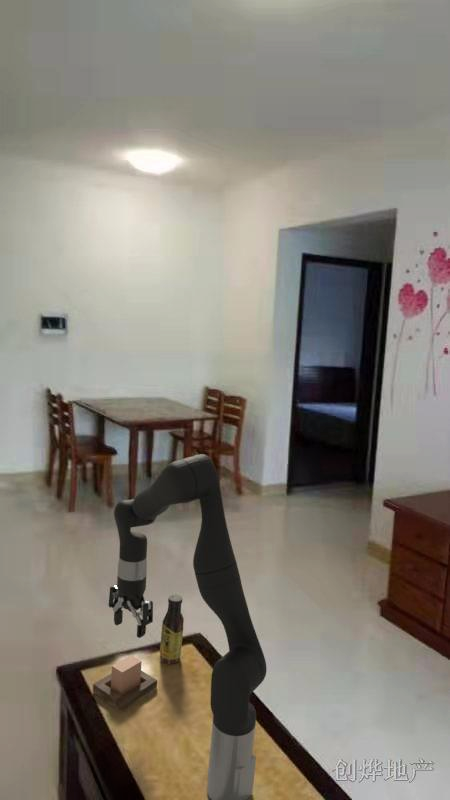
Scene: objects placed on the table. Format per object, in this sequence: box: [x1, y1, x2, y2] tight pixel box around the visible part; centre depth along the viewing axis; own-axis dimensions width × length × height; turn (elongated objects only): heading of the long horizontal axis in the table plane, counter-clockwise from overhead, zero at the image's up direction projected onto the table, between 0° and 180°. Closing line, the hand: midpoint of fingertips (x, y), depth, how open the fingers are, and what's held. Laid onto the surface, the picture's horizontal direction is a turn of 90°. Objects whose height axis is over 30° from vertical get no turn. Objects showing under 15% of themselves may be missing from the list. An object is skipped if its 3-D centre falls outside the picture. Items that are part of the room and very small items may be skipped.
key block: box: [110, 654, 143, 695], centre depth 163 cm, size 7×4×7 cm, turn 142°
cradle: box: [92, 670, 158, 713], centre depth 164 cm, size 11×13×2 cm
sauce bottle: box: [159, 593, 184, 665], centre depth 178 cm, size 6×6×20 cm
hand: (129, 630), depth 161 cm, fingers open, 8 cm apart
